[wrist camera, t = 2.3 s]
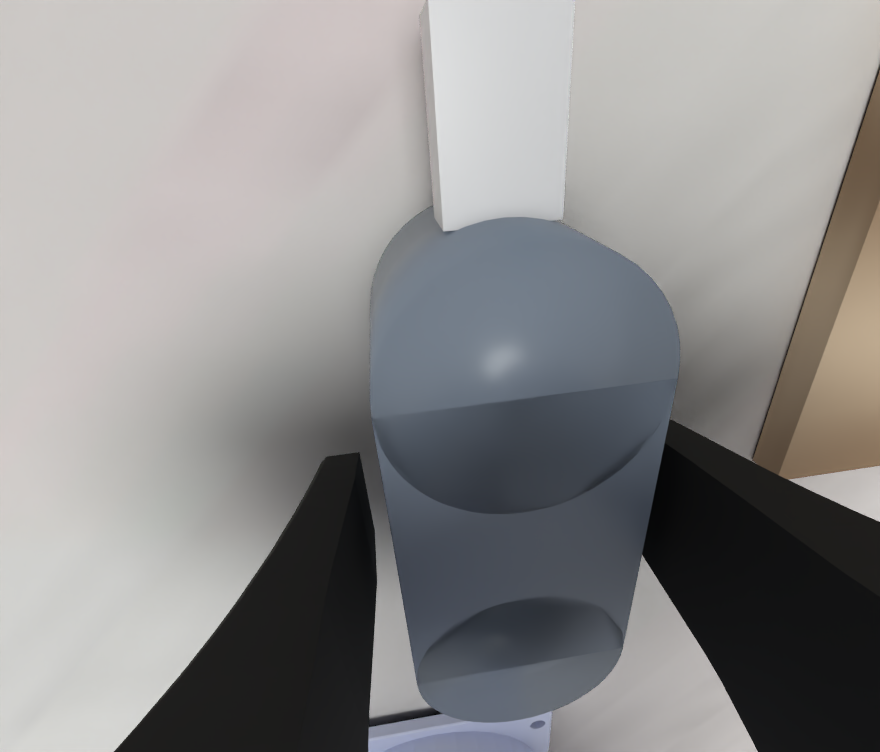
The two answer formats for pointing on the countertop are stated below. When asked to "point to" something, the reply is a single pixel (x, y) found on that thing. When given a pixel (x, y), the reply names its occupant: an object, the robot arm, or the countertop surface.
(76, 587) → the countertop surface
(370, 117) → the countertop surface
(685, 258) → the countertop surface
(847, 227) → the cork pad
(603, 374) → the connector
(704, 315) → the countertop surface
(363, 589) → the robot arm
